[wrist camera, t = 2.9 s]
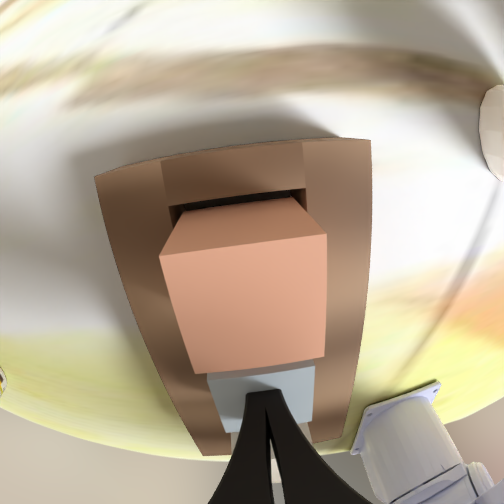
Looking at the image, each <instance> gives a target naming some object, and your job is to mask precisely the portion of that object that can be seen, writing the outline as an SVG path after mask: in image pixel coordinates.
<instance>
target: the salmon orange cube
mask: <svg viewBox="0 0 504 504" xmlns="http://www.w3.org/2000/svg"><path fill="white" fill-rule="evenodd" d="M159 259H160V263H161V266H162V270H163V274H164V278H165V281H166V285H167V288H168V292H169V295H170V299H171V302H172V306H173V309H174V312H175V316H176V319H177V322H178V325H179V328H180V331H181V335H182V338H183V341H184V344H185V347H186V350H187V353H188V355H189V358H190V361H191V364H192V367H193V370H194V372H195V374H201V373H213V372H224V371H234V370H243V369H251V368H259V367H266V366H273V365H280V364H286V363H292V362H298V361H303V360H309V359H314V358H319V357H324V351H325V332H326V305H327V233H326V232H325V231H324V230H323V229H322V228H321V227H320V226H319V225H318V224H317V223H316V221H315V220H314V219H313V218H312V217H311V216H310V215H309V214H308V213H307V212H306V211H305V210H304V209H303V208H302V206H301V205H300V204H299V203H298V202H297V201H296V200H295V199H294V198H293V197H288V198H279V199H271V200H263V201H255V202H247V203H239V204H232V205H224V206H217V207H210V208H204V209H197V210H190V211H184V212H183V213H182V215H181V217H180V219H179V220H178V222H177V224H176V226H175V227H174V229H173V231H172V233H171V235H170V236H169V238H168V240H167V242H166V244H165V246H164V247H163V249H162V251H161V253H160V255H159Z"/></svg>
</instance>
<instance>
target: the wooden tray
mask: <svg viewBox="0 0 504 504" xmlns="http://www.w3.org/2000/svg"><path fill="white" fill-rule="evenodd" d="M94 178H95V183H96V188H97V193H98V197H99V202H100V206H101V210H102V214H103V218H104V222H105V226H106V230H107V234H108V237H109V241H110V244H111V248H112V251H113V255H114V258H115V261H116V264H117V268H118V271H119V274H120V277H121V280H122V283H123V286H124V289H125V292H126V295H127V297H128V300H129V303H130V306H131V308H132V311H133V314H134V316H135V319H136V322H137V324H138V327H139V329H140V332H141V334H142V337H143V339H144V341H145V344H146V346H147V349H148V351H149V353H150V355H151V358H152V360H153V362H154V364H155V367H156V369H157V371H158V373H159V375H160V377H161V380H162V382H163V384H164V386H165V388H166V390H167V392H168V394H169V396H170V398H171V400H172V402H173V404H174V406H175V408H176V409H177V411H178V413H179V415H180V417H181V419H182V421H183V422H184V424H185V426H186V428H187V430H188V431H189V433H190V435H191V437H192V438H193V440H194V442H195V443H196V445H197V447H198V449H199V450H200V452H201V453H202V455H203V456H216V455H232V451H231V432H230V433H226V432H225V429H224V426H223V424H222V421H221V419H220V416H219V413H218V411H217V408H216V405H215V402H214V400H213V397H212V394H211V391H210V388H209V385H208V382H207V373H201V374H195V372H194V370H193V367H192V364H191V361H190V358H189V355H188V353H187V350H186V347H185V344H184V341H183V338H182V335H181V331H180V328H179V325H178V322H177V319H176V316H175V312H174V309H173V306H172V302H171V299H170V295H169V292H168V288H167V285H166V281H165V278H164V274H163V270H162V266H161V263H160V259H159V255H160V253H161V251H162V249H163V247H164V246H165V244H166V242H167V240H168V238H169V236H170V235H171V233H172V231H173V229H174V227H175V226H176V224H177V222H178V220H179V219H180V217H181V215H182V213H183V212H184V211H186V210H185V205H184V203H191V202H197V201H204V200H210V199H217V198H224V197H232V196H239V195H247V194H255V193H263V192H271V191H280V190H290V194H291V197H293V198H294V199H295V200H296V201H297V202H298V203H299V204H300V205H301V206H302V208H303V209H304V210H305V211H306V212H307V213H308V214H309V215H310V216H311V217H312V218H313V219H314V220H315V221H316V223H317V224H318V225H319V226H320V227H321V228H322V229H323V230H324V231H325V232H326V233H327V305H326V332H325V351H324V357H319V358H314V359H313V361H314V364H315V378H314V396H313V412H312V421H310V422H307V423H308V427H309V431H310V435H311V439H312V443H318V442H322V441H327V440H331V439H335V438H339V437H341V436H342V432H343V428H344V424H345V420H346V416H347V412H348V408H349V403H350V399H351V394H352V390H353V385H354V380H355V374H356V369H357V364H358V358H359V352H360V346H361V339H362V332H363V325H364V317H365V309H366V300H367V291H368V280H369V268H370V253H371V232H372V160H371V140H365V139H355V138H342V137H337V138H313V139H297V140H284V141H272V142H262V143H253V144H244V145H236V146H228V147H221V148H214V149H208V150H201V151H195V152H189V153H184V154H178V155H173V156H168V157H163V158H158V159H153V160H148V161H144V162H139V163H135V164H130V165H126V166H122V167H119V168H116V169H114V170H111V171H108V172H105V173H103V174H100V175H97V176H95V177H94Z"/></svg>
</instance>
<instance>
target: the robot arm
mask: <svg viewBox="0 0 504 504" xmlns="http://www.w3.org/2000/svg"><path fill="white" fill-rule="evenodd" d="M440 386H441V383H440V382H439V381H437V382H435V383H432V384H430V385H427V386H425V387H422V388H420V389H417V390H415V391H412V392H409V393H407V394H404V395H401V396H398V397H395V398H392V399H389V400H386V401H383V402H380V403H377V404H374V405H370V406H368V407H367V408H366V409H365V410H364V413H363V416H362V420H361V423H360V426H359V429H358V432H357V435H356V437H355V440H354V443H353V446H352V448H351V451H350V452H351V454H352V455H355V454H358V453H360V454H361V457H362V460H363V463H364V466H365V469H366V471H367V475H368V477H369V480H370V483H371V486H372V489H373V492H374V494H375V495H376V497H377V498H378V499H379V500H380V501H382V502H384V503H386V504H504V478H503V479H502V480H501V481H499V482H498V483H497V484H496V485H495V484H494V482H493V480H492V478H491V477H490V475H489V473H488V471H487V470H486V468H485V467H484V465H483V464H482V463H478V462H477V463H476V462H472V463H471V464H469V465H468V464H465V463H464V462H463V460H462V458H461V456H460V454H459V452H458V450H457V449H456V447H455V445H454V443H453V441H452V439H451V437H450V436H449V434H448V432H447V430H446V429H445V427H444V425H443V423H442V422H441V420H440V418H439V416H438V415H437V413H436V411H435V410H434V408H433V406H432V405H431V404H432V402H433V400H434V398H435V396H436V394H437V393H438V391H439V389H440ZM270 439H271V443H272V447H273V451H274V455H275V459H276V463H277V467H278V470H279V474H280V478H281V482H282V487H283V493H284V499H285V504H372V503H371V502H369V501H368V500H367V499H365V498H364V497H363V496H361V495H360V494H359V493H357V492H356V491H355V490H354V489H353V488H351V487H350V486H349V485H348V484H347V483H346V482H345V481H344V480H343V479H341V478H340V477H339V476H338V475H337V474H336V473H335V472H334V471H333V470H332V469H331V468H330V467H329V466H328V464H327V463H326V462H325V461H324V460H323V459H322V458H321V456H320V455H319V454H318V453H317V452H316V450H315V449H314V448H313V446H312V445H311V444H310V442H309V441H308V440H307V438H306V437H305V435H304V434H303V432H302V431H301V429H300V427H299V426H298V424H297V423H296V421H295V419H294V417H293V416H292V414H291V412H290V410H289V408H288V406H287V404H286V401H285V399H284V396H283V394H282V390H281V389H272V390H265V391H258V392H250V393H247V394H246V397H245V408H244V414H243V419H242V424H241V428H240V431H239V435H238V439H237V442H236V445H235V448H234V451H233V453H232V456H231V459H230V461H229V464H228V466H227V469H226V471H225V473H224V475H223V477H222V479H221V481H220V483H219V485H218V487H217V489H216V491H215V492H214V494H213V496H212V498H211V499H210V501H209V502H208V504H274V497H273V490H272V474H271V446H270Z"/></svg>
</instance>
